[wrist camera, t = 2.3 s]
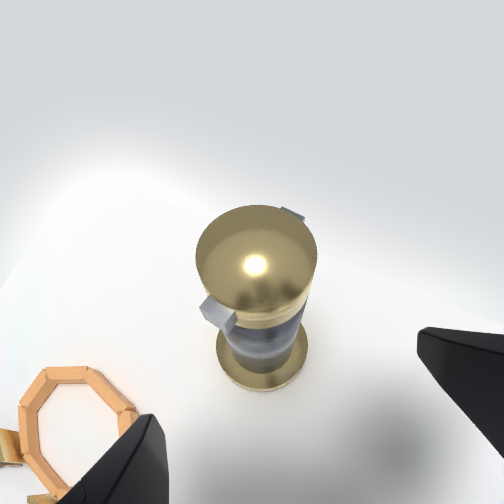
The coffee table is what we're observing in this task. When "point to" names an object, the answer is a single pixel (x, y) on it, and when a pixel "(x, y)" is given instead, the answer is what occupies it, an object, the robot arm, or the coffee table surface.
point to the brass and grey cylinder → (257, 292)
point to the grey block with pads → (10, 449)
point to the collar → (38, 396)
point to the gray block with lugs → (41, 499)
